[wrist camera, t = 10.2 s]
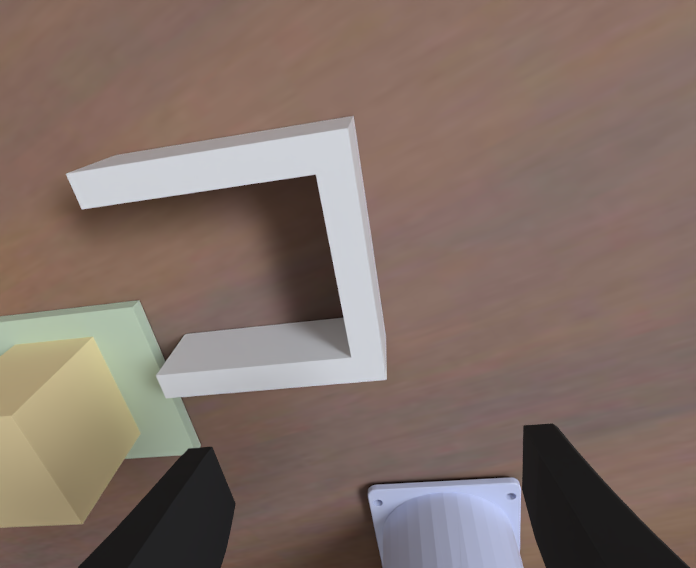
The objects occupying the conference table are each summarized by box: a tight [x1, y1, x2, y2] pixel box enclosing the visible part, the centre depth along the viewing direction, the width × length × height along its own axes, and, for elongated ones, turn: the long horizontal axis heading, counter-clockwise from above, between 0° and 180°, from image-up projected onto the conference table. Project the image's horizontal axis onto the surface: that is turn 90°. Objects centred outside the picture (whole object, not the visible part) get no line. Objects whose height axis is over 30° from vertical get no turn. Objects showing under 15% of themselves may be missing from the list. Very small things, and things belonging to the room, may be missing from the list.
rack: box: [66, 116, 387, 398], centre depth 17 cm, size 9×9×3 cm
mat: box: [0, 300, 201, 459], centre depth 22 cm, size 9×9×1 cm
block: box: [0, 337, 141, 528], centre depth 20 cm, size 6×4×5 cm, turn 9°
